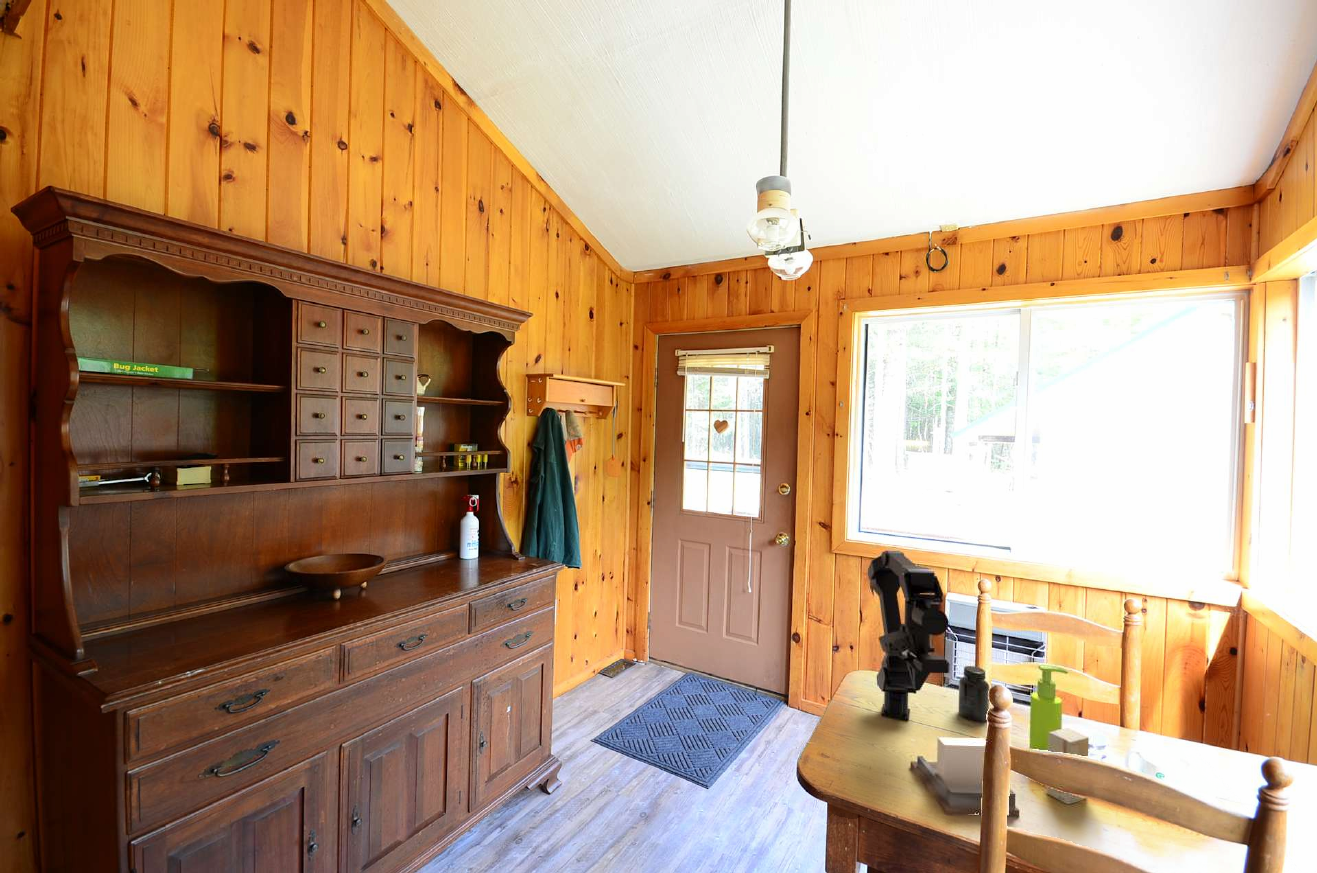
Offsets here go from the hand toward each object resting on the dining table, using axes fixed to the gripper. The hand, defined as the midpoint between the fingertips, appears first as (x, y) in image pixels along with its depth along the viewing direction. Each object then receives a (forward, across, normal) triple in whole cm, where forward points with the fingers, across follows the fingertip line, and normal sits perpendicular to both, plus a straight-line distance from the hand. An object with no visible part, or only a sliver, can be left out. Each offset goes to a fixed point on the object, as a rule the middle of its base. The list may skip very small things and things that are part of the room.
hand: (916, 690), depth 137 cm
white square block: (+11, +19, 0) cm, 22 cm away
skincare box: (+13, +20, +21) cm, 32 cm away
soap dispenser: (+12, +5, +27) cm, 30 cm away
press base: (+12, +19, 0) cm, 22 cm away
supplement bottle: (+12, -14, +21) cm, 28 cm away
